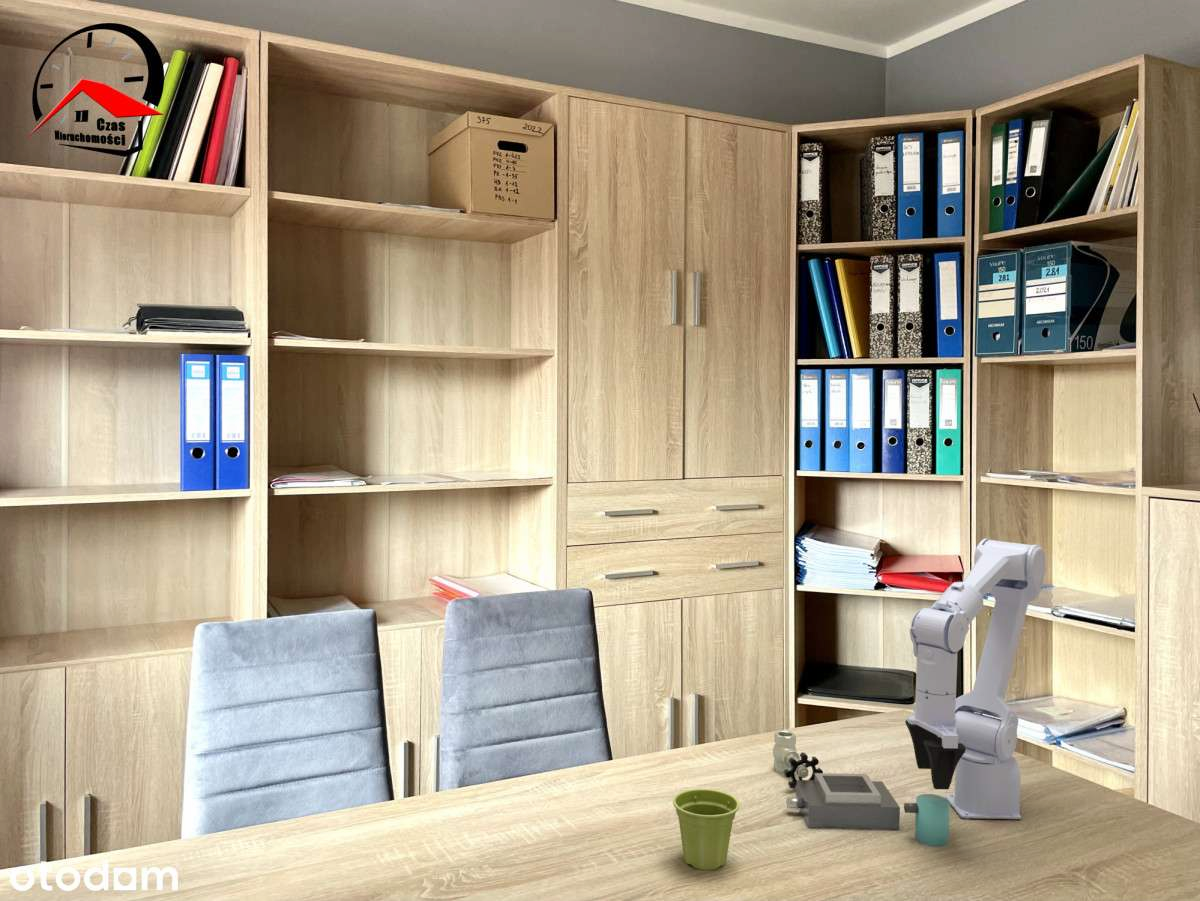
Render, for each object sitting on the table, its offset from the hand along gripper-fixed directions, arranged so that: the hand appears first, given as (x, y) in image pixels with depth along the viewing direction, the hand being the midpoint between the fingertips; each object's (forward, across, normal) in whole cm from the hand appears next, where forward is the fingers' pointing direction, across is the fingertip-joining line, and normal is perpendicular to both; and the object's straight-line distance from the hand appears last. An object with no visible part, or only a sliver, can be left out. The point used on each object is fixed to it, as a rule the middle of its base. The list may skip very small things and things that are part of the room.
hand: (932, 778), depth 147 cm
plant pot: (+10, +8, -35) cm, 37 cm away
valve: (+10, -22, -17) cm, 30 cm away
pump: (+9, 0, 0) cm, 9 cm away
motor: (+9, -8, -12) cm, 17 cm away
